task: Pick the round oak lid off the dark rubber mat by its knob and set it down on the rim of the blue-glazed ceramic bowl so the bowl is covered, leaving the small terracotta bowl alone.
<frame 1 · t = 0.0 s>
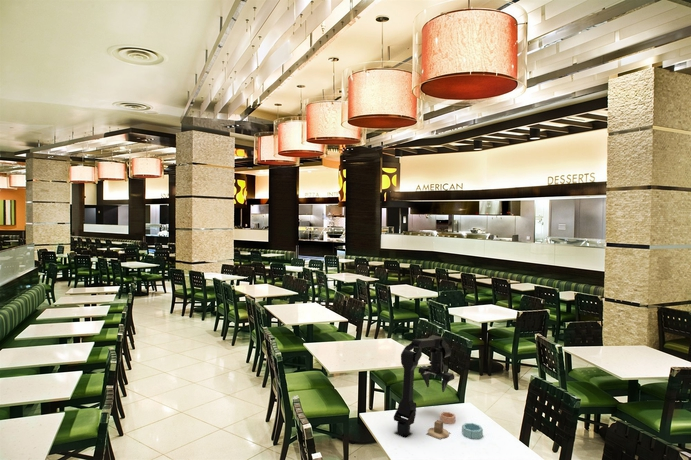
hand: (435, 389, 242), 14 cm above the table, fingers open, 9 cm apart
bowl: (472, 435, 223), on the table
lid: (438, 433, 223), resting on mat
mat: (438, 434, 223), on the table
small bowl: (447, 421, 237), on the table
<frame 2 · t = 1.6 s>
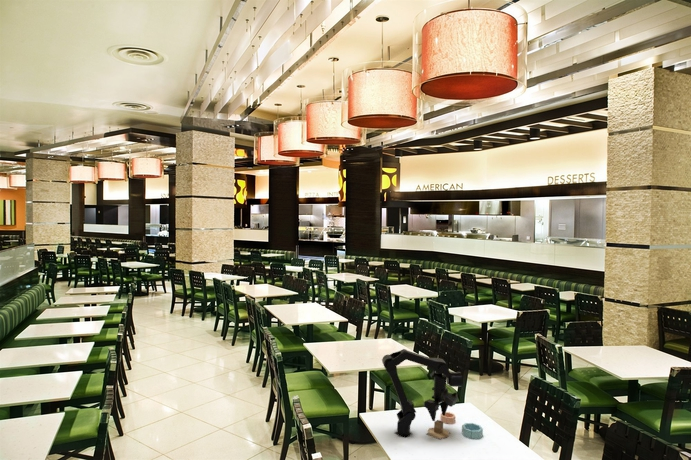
hand: (438, 418, 222), 8 cm above the table, fingers open, 9 cm apart
nothing on the table moved.
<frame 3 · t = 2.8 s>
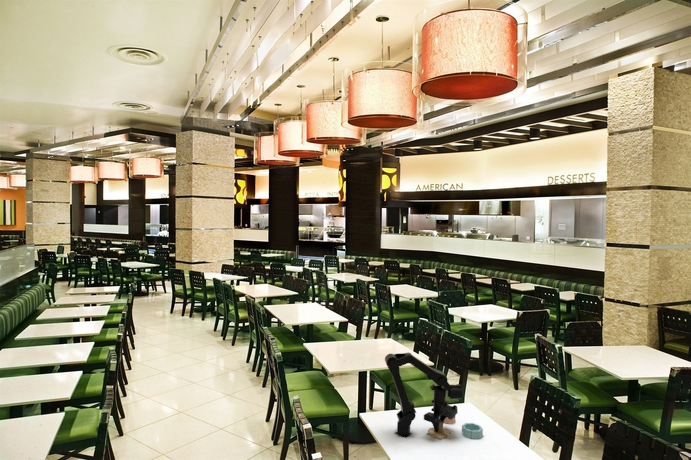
hand: (438, 430, 222), 2 cm above the table, fingers closed on lid, 3 cm apart
lid: (438, 433, 223), resting on mat, touching gripper
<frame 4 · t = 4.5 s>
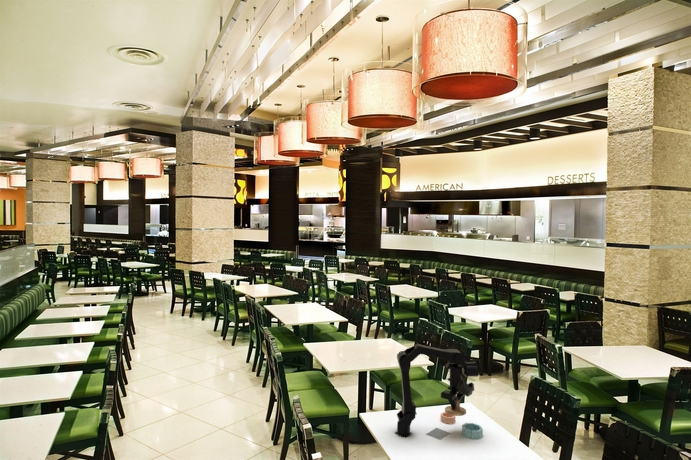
hand: (455, 408, 222), 13 cm above the table, fingers closed on lid, 3 cm apart
lid: (455, 411, 222), point 11 cm above the table, touching gripper
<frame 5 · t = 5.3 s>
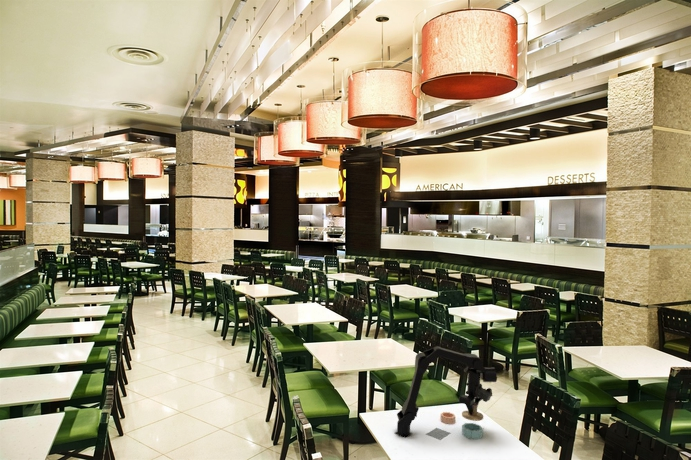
hand: (472, 413, 222), 11 cm above the table, fingers closed on lid, 3 cm apart
lid: (472, 416, 222), point 9 cm above the table, touching gripper
when the fingers open (7 cm above the table, at t = 6.1 s): lid drops 2 cm, resting on bowl.
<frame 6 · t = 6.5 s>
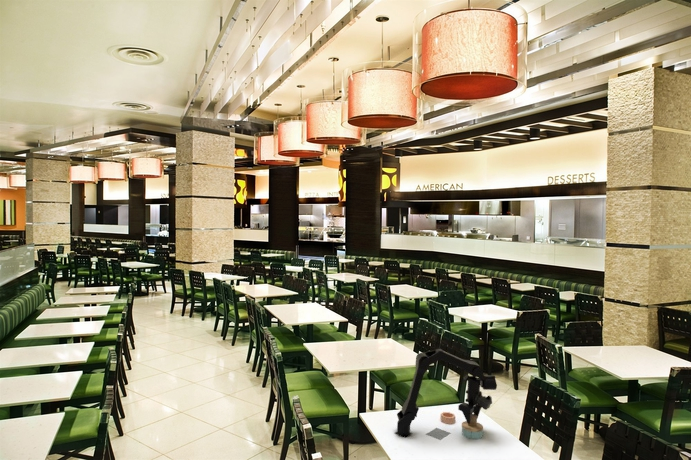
hand: (472, 421, 222), 7 cm above the table, fingers open, 7 cm apart
lid: (472, 427, 223), point 4 cm above the table, touching bowl
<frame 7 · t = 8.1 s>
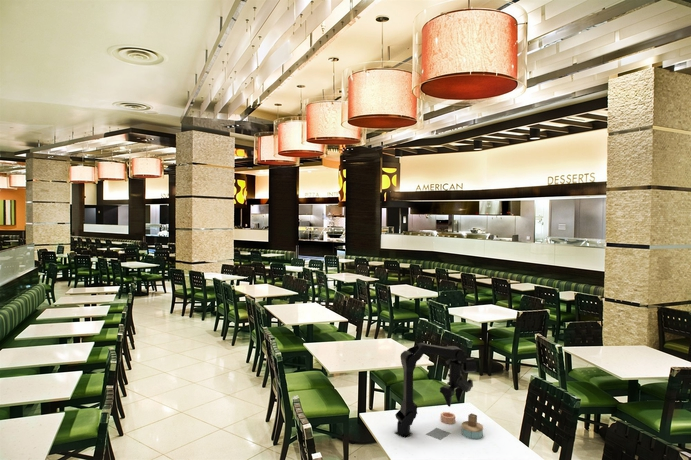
hand: (453, 404, 228), 13 cm above the table, fingers open, 9 cm apart
nothing on the table moved.
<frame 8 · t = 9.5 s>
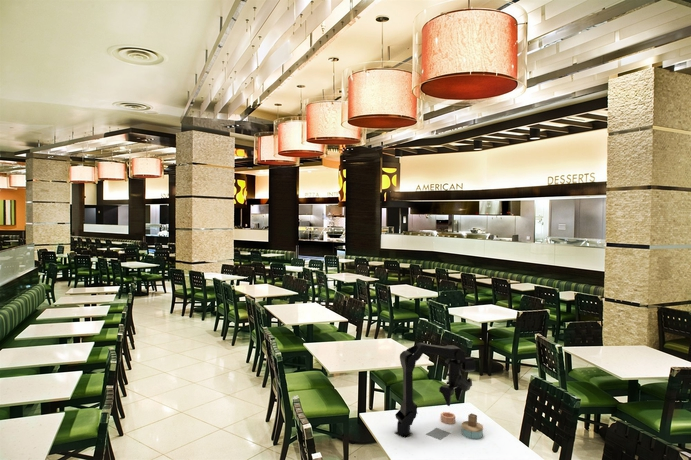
hand: (453, 403, 228), 13 cm above the table, fingers open, 9 cm apart
nothing on the table moved.
at the end: lid 0.0 cm off-centre on the bowl, point 4.0 cm above the bowl's base; lid tilted 0°; the gripper is holding nothing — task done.
